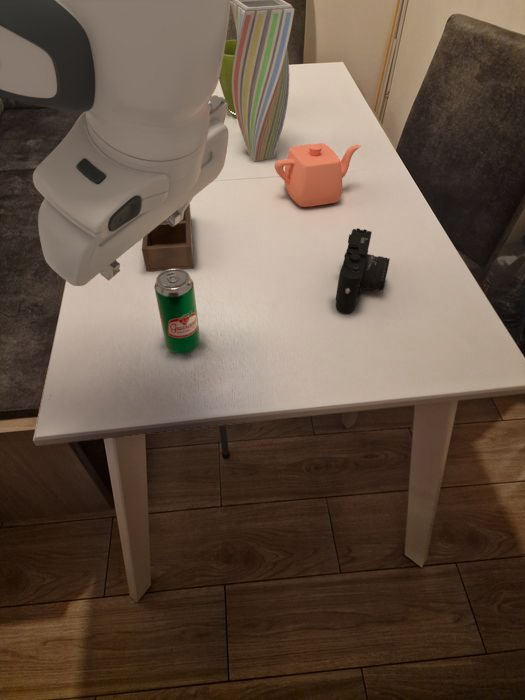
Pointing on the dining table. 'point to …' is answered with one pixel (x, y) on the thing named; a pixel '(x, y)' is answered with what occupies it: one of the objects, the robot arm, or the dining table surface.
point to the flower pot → (228, 73)
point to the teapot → (314, 173)
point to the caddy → (169, 245)
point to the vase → (261, 72)
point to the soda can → (177, 310)
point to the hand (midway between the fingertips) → (141, 244)
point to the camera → (359, 271)
